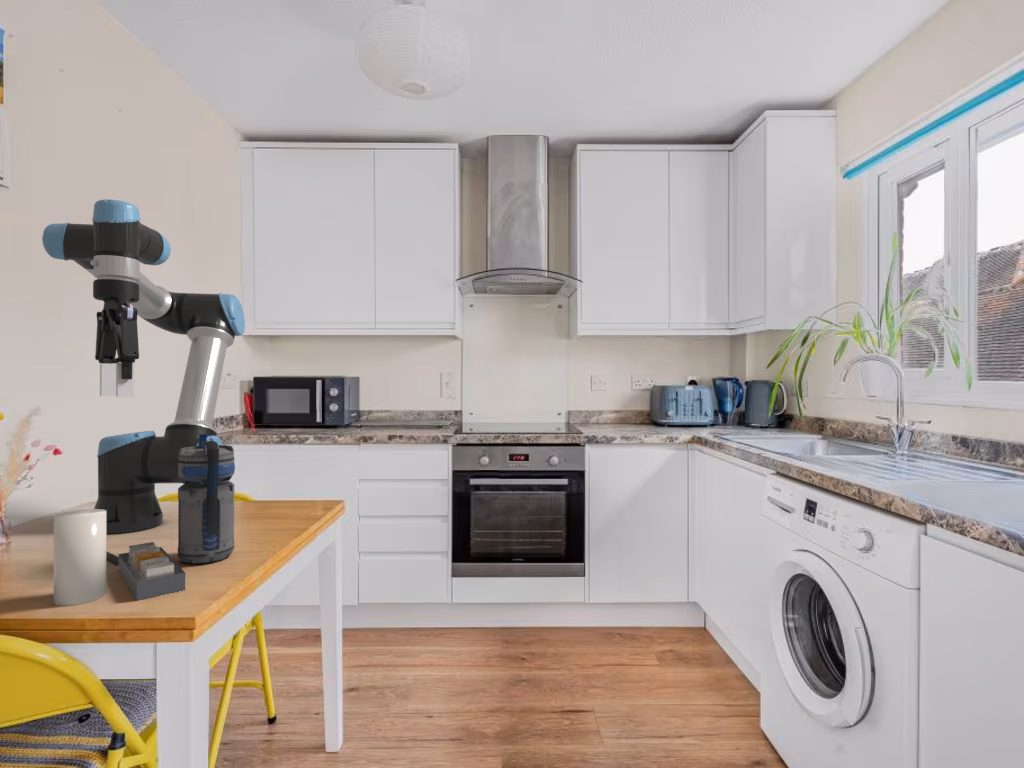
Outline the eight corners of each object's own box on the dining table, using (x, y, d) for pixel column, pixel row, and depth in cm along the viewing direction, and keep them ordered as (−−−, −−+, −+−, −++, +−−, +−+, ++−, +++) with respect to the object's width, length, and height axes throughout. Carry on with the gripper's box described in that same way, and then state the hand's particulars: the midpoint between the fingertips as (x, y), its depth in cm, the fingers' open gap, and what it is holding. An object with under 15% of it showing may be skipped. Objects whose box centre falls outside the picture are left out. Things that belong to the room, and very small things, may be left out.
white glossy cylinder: (47, 599, 93) (47, 514, 93) (97, 586, 99) (97, 507, 99) (61, 609, 89) (61, 521, 89) (113, 595, 95) (113, 512, 95)
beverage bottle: (183, 573, 106) (183, 440, 106) (173, 555, 117) (174, 435, 117) (241, 562, 113) (242, 437, 112) (227, 547, 123) (228, 432, 123)
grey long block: (118, 572, 108) (118, 546, 108) (161, 564, 112) (161, 539, 112) (137, 603, 93) (137, 573, 93) (185, 592, 98) (185, 563, 98)
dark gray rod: (96, 555, 117) (96, 549, 117) (103, 553, 118) (103, 548, 118) (117, 566, 110) (117, 559, 110) (124, 564, 111) (124, 558, 111)
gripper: (75, 283, 115) (75, 395, 115) (114, 272, 103) (114, 397, 103) (118, 288, 121) (117, 394, 121) (159, 278, 109) (159, 396, 109)
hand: (116, 395), depth 112 cm, fingers open, 8 cm apart
